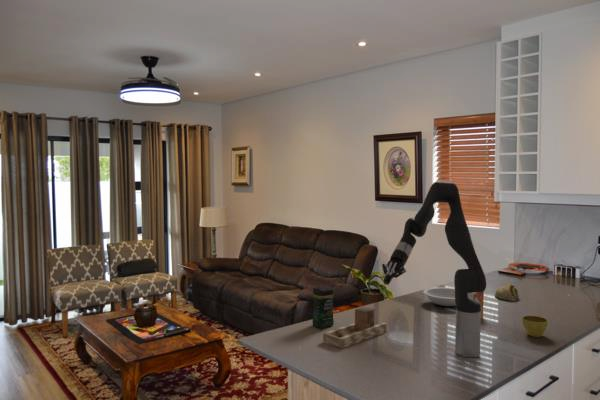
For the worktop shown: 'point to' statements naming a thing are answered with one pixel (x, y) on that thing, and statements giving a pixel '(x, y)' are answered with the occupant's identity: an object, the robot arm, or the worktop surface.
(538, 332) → the flower pot
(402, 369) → the worktop surface
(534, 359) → the worktop surface
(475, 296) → the small box
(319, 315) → the coffee jar
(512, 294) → the pastry
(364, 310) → the walnut block
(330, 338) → the birch chute
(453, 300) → the soup bowl
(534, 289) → the worktop surface
